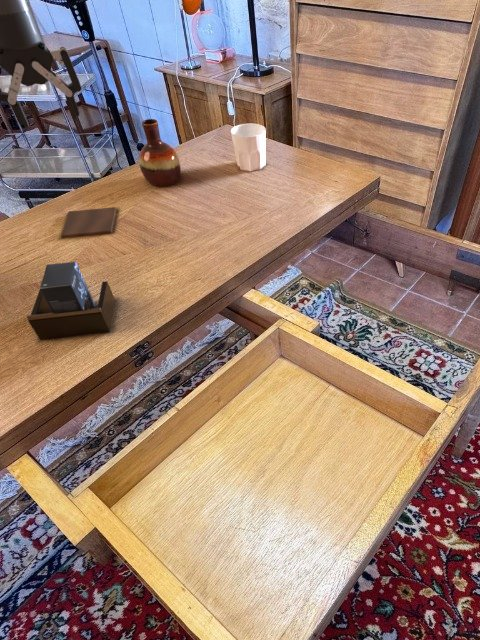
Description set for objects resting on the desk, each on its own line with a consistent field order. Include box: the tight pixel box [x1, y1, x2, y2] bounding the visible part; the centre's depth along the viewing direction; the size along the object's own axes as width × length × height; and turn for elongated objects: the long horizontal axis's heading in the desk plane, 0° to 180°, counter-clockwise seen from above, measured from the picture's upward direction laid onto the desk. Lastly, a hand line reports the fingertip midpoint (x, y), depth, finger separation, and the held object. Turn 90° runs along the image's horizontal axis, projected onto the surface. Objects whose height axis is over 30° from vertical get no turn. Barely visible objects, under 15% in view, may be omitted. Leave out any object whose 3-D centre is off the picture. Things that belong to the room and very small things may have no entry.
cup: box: [230, 123, 267, 173], centre depth 130 cm, size 10×10×10 cm
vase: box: [138, 118, 182, 188], centre depth 122 cm, size 11×11×15 cm
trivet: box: [60, 206, 117, 239], centre depth 113 cm, size 12×12×1 cm
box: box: [39, 261, 96, 313], centre depth 86 cm, size 8×6×11 cm
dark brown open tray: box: [26, 280, 116, 341], centre depth 87 cm, size 13×10×6 cm
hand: (51, 122), depth 82 cm, fingers open, 8 cm apart
